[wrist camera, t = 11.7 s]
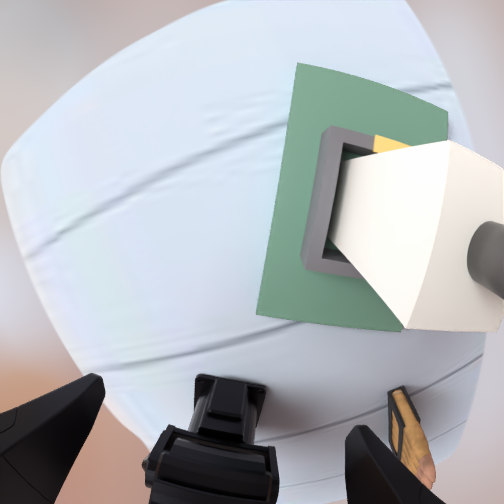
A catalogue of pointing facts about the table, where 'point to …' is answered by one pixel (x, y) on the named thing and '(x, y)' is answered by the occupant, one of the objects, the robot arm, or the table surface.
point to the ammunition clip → (409, 437)
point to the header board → (333, 194)
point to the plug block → (426, 233)
